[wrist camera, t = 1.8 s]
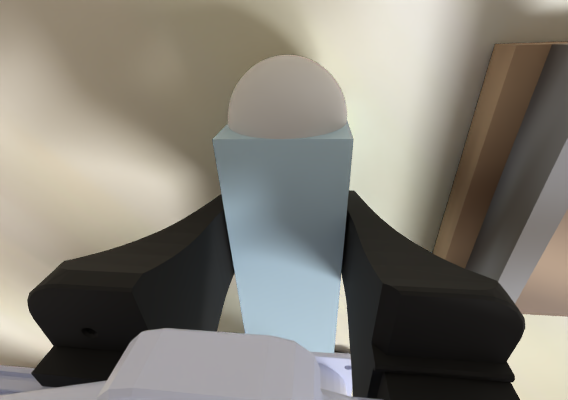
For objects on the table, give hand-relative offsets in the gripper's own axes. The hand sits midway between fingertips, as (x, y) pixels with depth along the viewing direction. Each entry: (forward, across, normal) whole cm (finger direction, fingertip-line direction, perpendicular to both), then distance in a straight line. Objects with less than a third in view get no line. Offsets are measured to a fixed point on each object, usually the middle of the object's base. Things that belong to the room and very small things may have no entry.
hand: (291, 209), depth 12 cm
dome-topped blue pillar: (+1, 0, 0) cm, 1 cm away
